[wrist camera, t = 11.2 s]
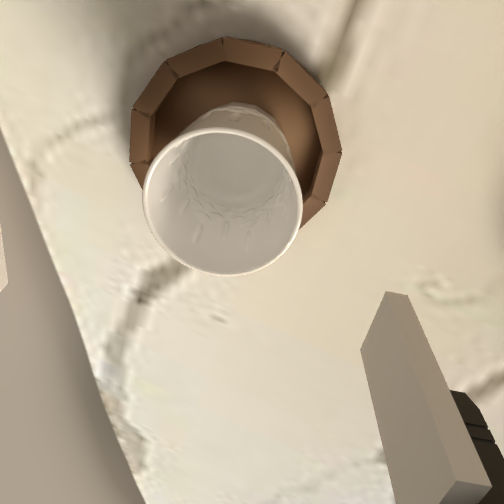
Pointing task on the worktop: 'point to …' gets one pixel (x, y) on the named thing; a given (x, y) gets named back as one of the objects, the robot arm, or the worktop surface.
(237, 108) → the white cup
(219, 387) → the worktop surface
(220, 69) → the ring tray
